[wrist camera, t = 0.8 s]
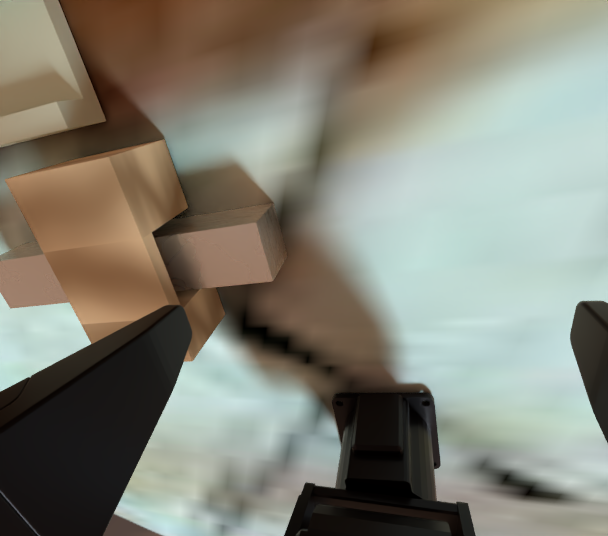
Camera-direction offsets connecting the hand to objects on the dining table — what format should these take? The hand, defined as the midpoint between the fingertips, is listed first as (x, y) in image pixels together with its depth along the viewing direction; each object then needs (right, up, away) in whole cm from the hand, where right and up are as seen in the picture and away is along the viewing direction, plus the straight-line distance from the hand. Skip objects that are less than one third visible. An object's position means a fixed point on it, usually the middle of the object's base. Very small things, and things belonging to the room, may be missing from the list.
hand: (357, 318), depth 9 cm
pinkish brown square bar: (-11, +2, +16) cm, 19 cm away
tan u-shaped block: (-10, +3, +15) cm, 18 cm away
